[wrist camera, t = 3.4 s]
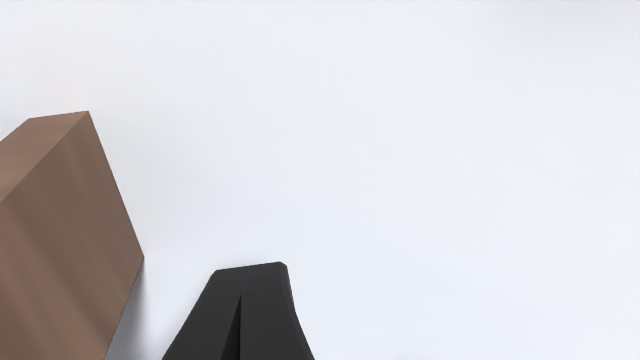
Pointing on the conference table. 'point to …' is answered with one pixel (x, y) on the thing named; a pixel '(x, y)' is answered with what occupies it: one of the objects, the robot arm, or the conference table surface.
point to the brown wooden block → (61, 242)
